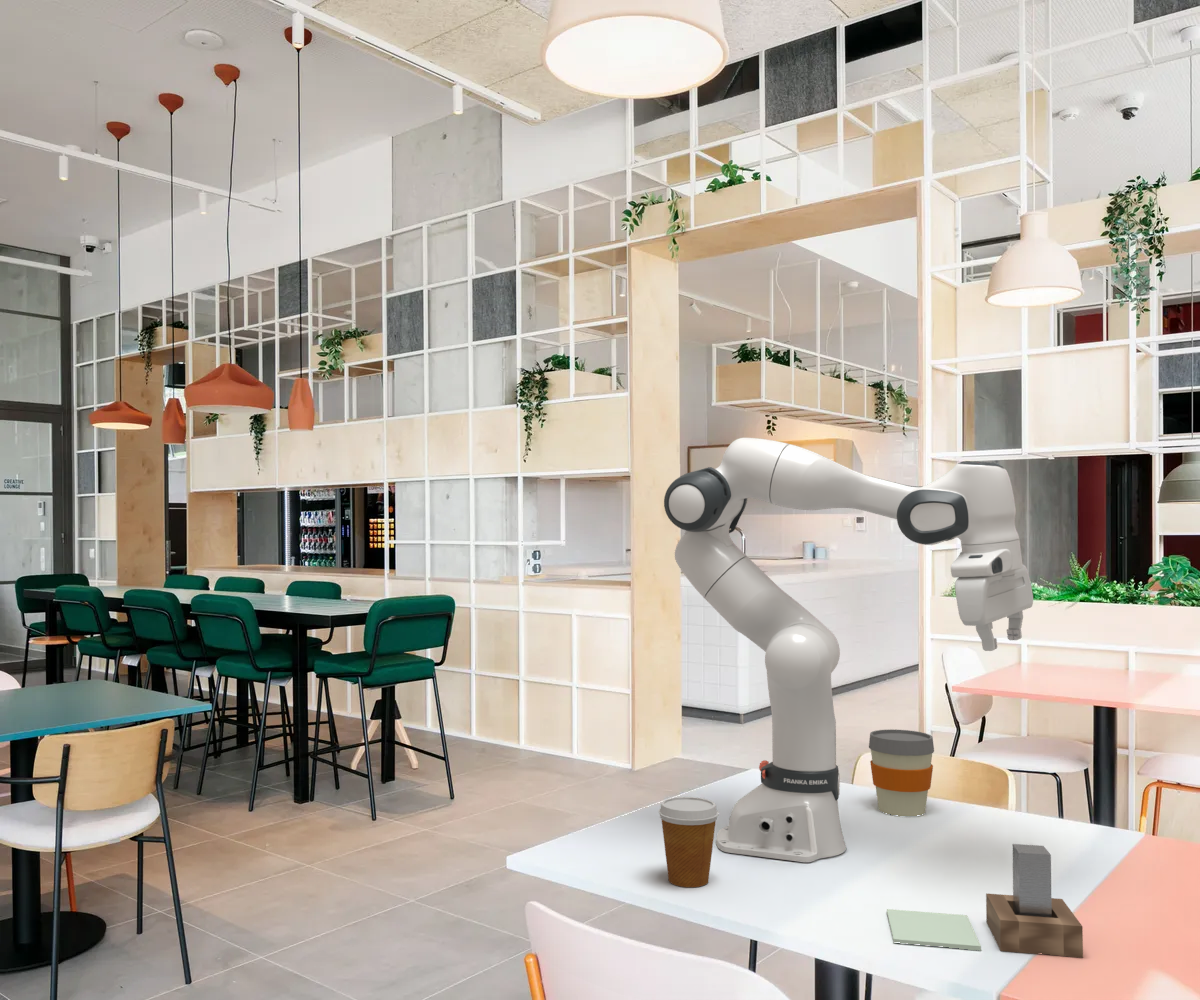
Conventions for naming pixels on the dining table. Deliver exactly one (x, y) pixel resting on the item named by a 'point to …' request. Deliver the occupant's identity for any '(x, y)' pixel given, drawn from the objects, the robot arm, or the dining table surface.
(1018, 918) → the socket block
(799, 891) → the dining table surface
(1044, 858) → the peg
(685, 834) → the disposable coffee cup
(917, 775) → the reusable coffee cup
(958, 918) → the mat
